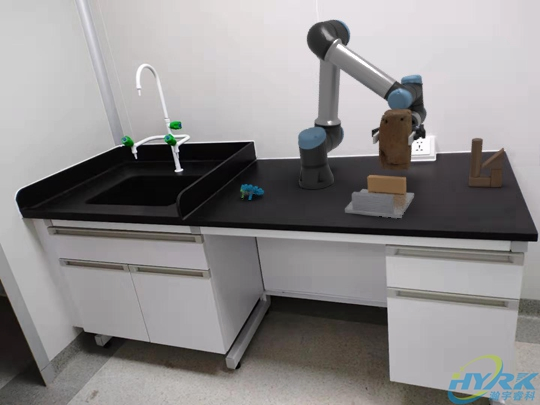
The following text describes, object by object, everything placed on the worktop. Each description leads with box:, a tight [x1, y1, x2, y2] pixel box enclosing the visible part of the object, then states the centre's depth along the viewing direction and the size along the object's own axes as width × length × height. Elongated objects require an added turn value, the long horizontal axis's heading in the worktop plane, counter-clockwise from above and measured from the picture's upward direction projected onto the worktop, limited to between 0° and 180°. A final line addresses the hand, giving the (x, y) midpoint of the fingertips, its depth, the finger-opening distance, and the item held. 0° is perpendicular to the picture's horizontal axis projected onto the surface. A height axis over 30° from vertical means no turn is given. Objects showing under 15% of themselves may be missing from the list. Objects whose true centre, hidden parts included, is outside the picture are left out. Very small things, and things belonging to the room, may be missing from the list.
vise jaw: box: [366, 174, 407, 194], centre depth 158 cm, size 14×2×6 cm, turn 59°
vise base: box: [344, 188, 415, 219], centre depth 152 cm, size 20×19×8 cm
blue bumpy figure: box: [240, 183, 265, 201], centre depth 174 cm, size 11×6×10 cm
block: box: [378, 108, 413, 172], centre depth 140 cm, size 11×8×20 cm
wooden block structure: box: [468, 137, 505, 188], centre depth 152 cm, size 4×11×18 cm, turn 67°
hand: (391, 140), depth 137 cm, fingers closed on block, 11 cm apart
